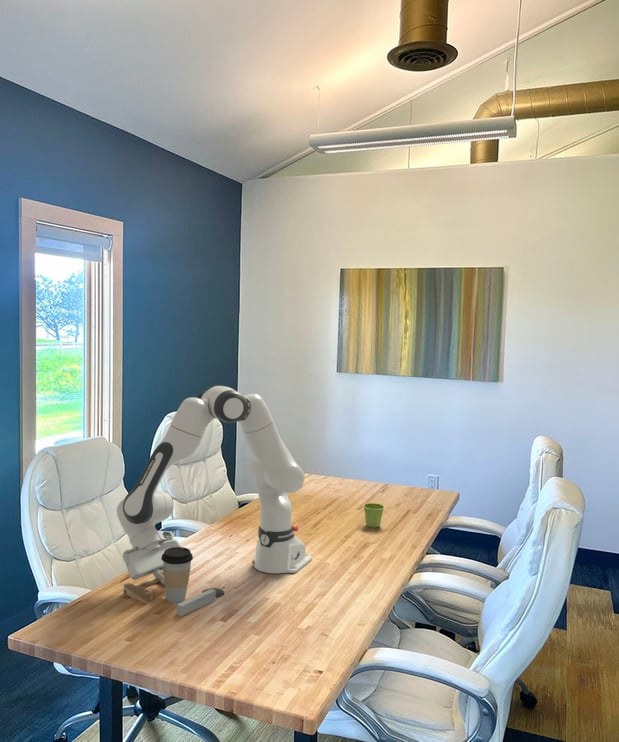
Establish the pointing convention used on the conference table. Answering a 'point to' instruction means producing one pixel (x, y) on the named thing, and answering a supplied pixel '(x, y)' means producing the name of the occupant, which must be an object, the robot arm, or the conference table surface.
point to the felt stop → (196, 602)
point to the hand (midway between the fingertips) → (167, 581)
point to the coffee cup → (176, 573)
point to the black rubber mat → (218, 592)
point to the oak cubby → (141, 590)
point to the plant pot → (373, 514)
